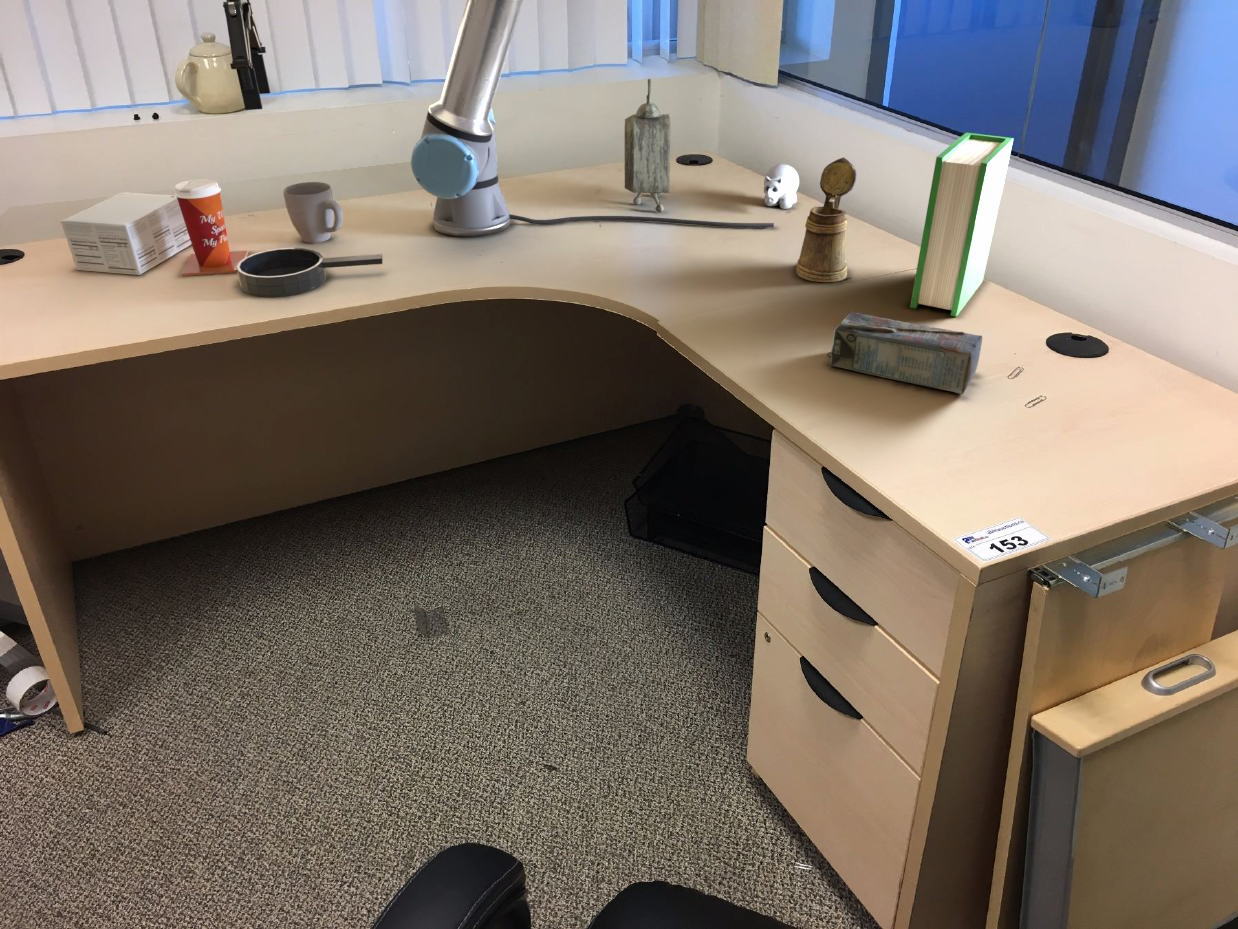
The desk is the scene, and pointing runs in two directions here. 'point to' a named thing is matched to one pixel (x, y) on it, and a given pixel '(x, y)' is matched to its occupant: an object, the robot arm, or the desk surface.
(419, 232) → the desk surface
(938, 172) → the hardback book
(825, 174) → the wooden mug
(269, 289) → the pan
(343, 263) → the pan handle
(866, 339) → the beverage carton
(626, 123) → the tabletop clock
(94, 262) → the supplement box
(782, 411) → the desk surface
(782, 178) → the chubby cartoon animal
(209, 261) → the paper cup
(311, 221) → the mug
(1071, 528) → the desk surface
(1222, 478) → the desk surface
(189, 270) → the coaster
